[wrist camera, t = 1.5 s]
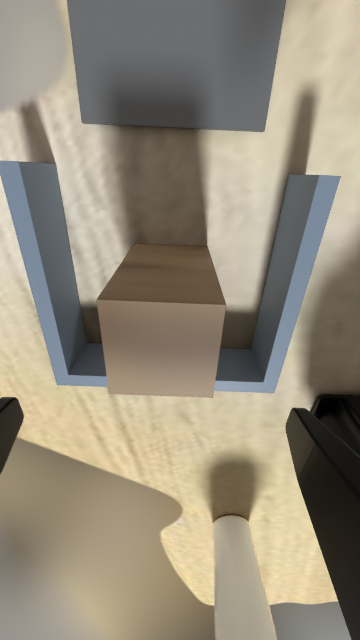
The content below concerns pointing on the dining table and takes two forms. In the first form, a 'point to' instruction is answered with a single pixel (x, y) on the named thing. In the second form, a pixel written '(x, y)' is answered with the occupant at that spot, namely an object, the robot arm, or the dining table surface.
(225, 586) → the drinking glass
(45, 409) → the dining table surface
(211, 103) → the charcoal mat
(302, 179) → the open-front box
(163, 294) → the walnut block
